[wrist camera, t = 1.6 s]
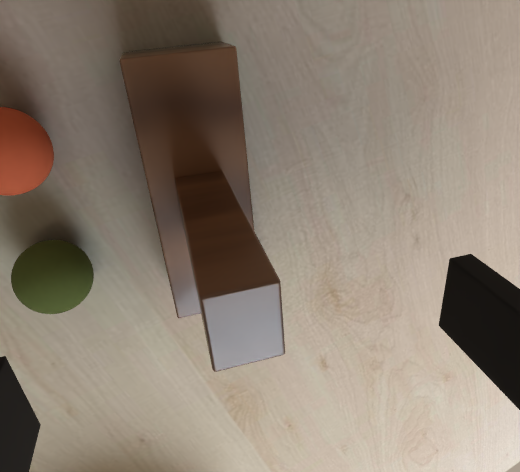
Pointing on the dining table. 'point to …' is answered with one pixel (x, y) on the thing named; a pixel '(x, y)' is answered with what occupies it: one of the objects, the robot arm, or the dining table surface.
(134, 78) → the brush
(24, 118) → the ball
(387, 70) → the dining table surface
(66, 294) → the ball
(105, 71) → the dining table surface
